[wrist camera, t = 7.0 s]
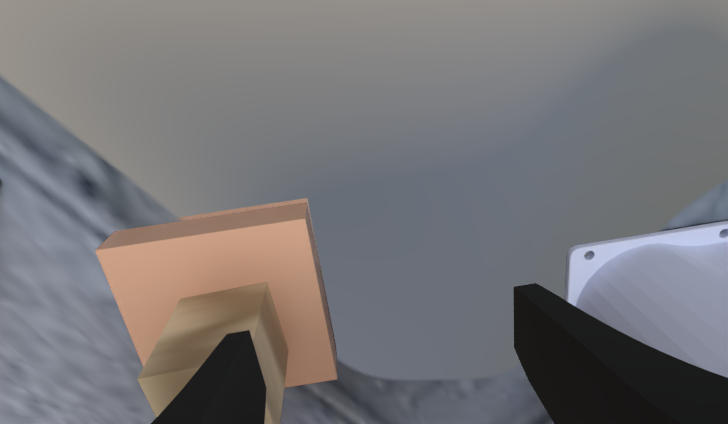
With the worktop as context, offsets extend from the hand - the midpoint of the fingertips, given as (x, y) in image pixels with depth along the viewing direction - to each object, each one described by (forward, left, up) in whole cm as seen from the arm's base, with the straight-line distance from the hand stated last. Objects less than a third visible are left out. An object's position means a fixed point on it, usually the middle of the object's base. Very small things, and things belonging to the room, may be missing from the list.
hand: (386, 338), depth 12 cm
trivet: (+7, +4, -10) cm, 13 cm away
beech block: (+7, +4, -8) cm, 11 cm away
